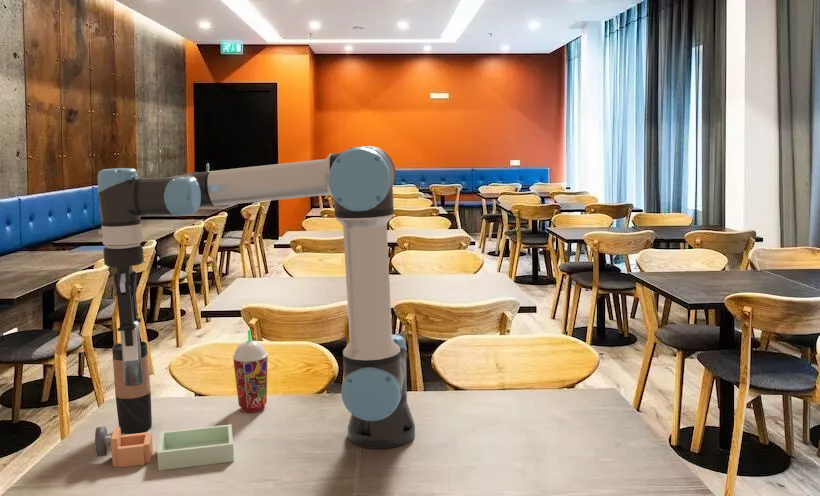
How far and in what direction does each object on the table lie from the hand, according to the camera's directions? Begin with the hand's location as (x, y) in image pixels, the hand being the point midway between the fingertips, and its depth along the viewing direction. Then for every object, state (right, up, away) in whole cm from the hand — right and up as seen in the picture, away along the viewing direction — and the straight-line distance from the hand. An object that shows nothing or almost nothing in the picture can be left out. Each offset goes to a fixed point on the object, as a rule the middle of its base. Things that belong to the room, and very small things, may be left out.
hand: (132, 357), depth 157 cm
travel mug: (-6, -20, +20) cm, 28 cm away
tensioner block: (-3, -22, +3) cm, 22 cm away
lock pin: (0, -6, +1) cm, 6 cm away
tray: (+12, -22, +5) cm, 25 cm away
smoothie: (+19, -17, +31) cm, 40 cm away
